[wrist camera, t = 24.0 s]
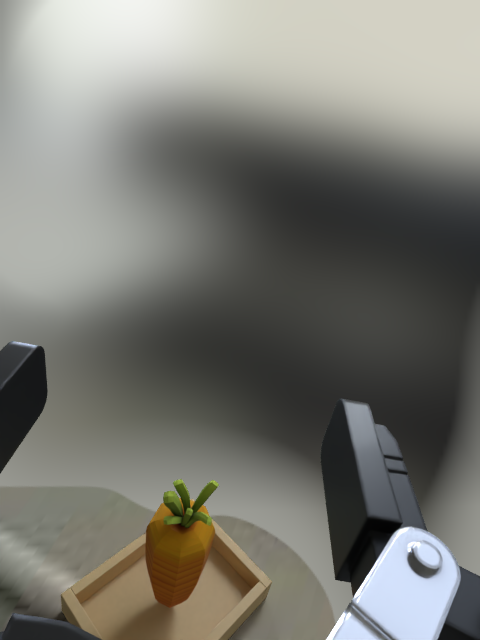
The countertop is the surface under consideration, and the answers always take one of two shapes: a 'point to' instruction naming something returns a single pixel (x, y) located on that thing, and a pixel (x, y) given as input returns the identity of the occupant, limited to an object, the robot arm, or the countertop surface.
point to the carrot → (178, 544)
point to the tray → (155, 618)
